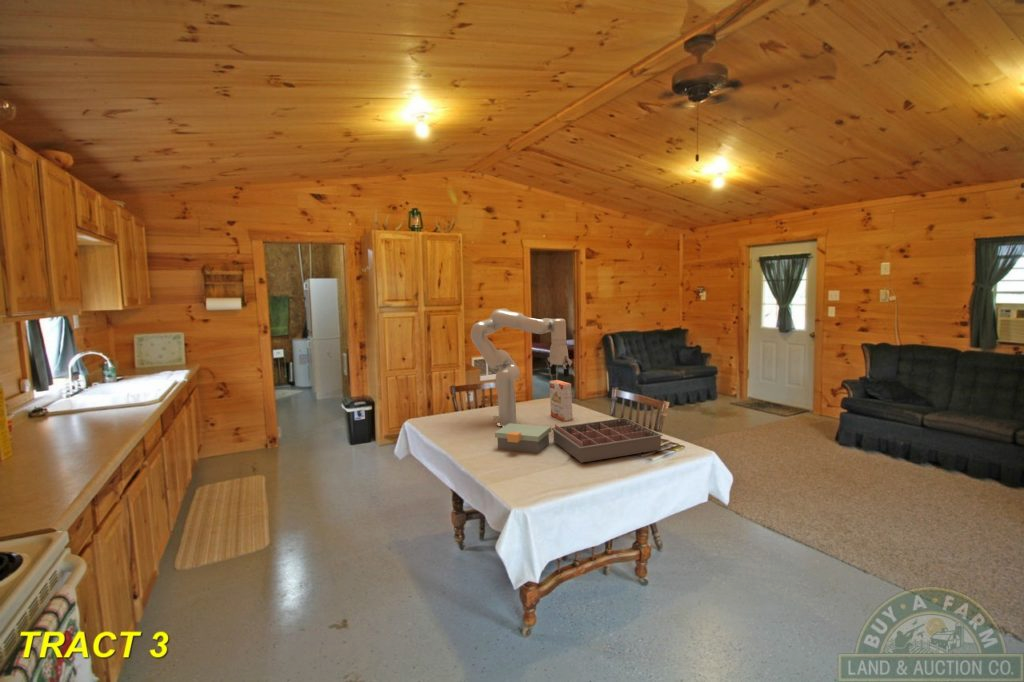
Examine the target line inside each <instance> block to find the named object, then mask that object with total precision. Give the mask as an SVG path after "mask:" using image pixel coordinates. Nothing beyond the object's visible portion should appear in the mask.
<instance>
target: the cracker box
mask: <svg viewBox="0 0 1024 682" xmlns="http://www.w3.org/2000/svg"><path fill="white" fill-rule="evenodd" d="M572 394H573V393H572V383H570V382H565V381H563V380H559V379H554V380H549V401H550V417H552V416H553V418H555V417H556V418H555V419H557V418H558V420H560V421H562V420H563V421H562V422H568V421H569V422H570V421H573V419H574V418H573V397H572Z"/></svg>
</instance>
